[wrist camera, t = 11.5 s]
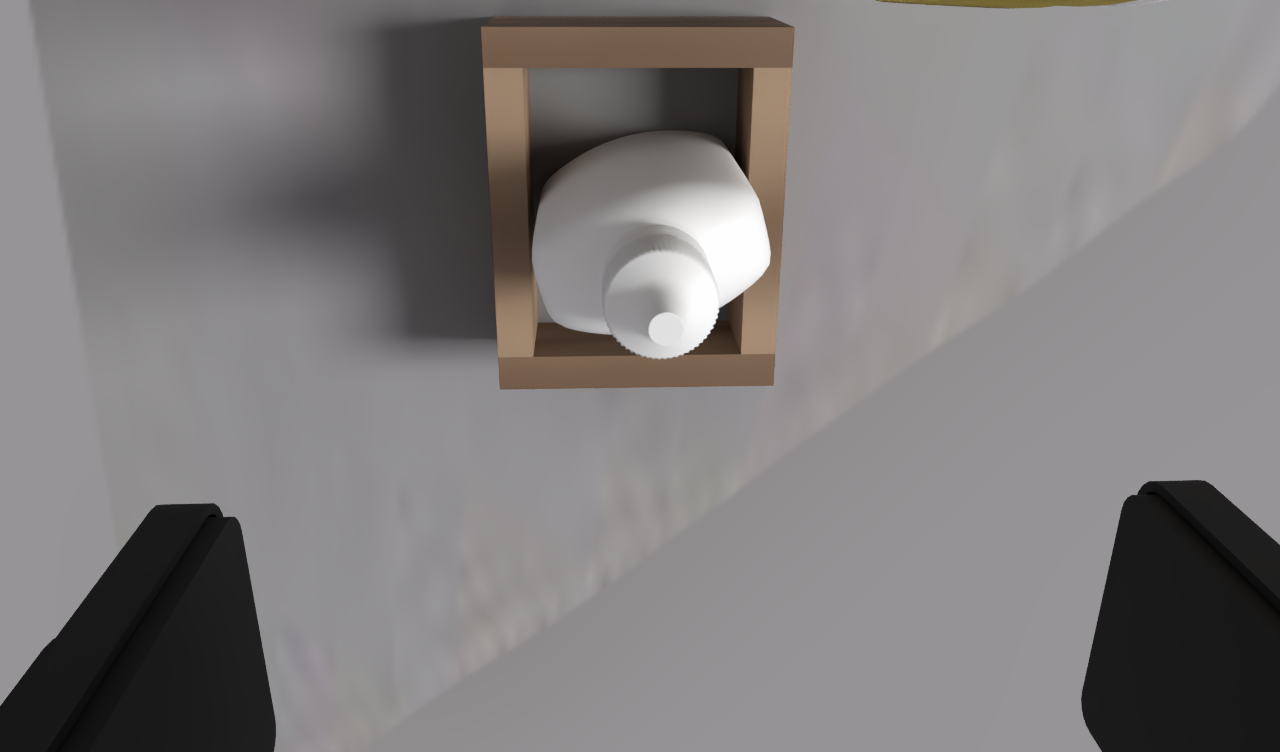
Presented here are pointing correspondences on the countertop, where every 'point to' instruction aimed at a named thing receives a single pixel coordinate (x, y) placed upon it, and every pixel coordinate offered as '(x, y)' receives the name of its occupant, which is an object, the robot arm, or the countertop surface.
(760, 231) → the eye dropper bottle
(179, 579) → the robot arm
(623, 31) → the bottle holder
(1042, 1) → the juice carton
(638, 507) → the countertop surface
